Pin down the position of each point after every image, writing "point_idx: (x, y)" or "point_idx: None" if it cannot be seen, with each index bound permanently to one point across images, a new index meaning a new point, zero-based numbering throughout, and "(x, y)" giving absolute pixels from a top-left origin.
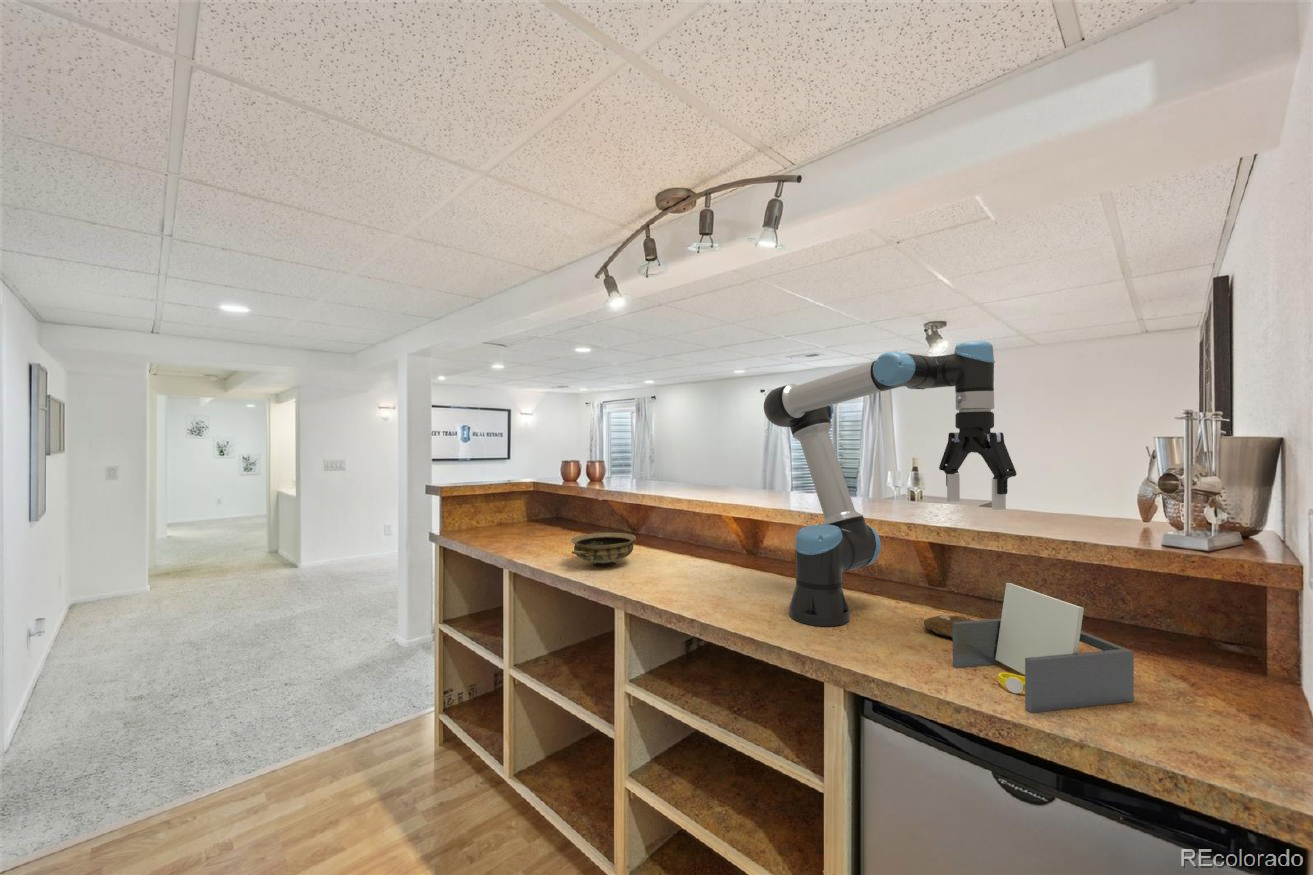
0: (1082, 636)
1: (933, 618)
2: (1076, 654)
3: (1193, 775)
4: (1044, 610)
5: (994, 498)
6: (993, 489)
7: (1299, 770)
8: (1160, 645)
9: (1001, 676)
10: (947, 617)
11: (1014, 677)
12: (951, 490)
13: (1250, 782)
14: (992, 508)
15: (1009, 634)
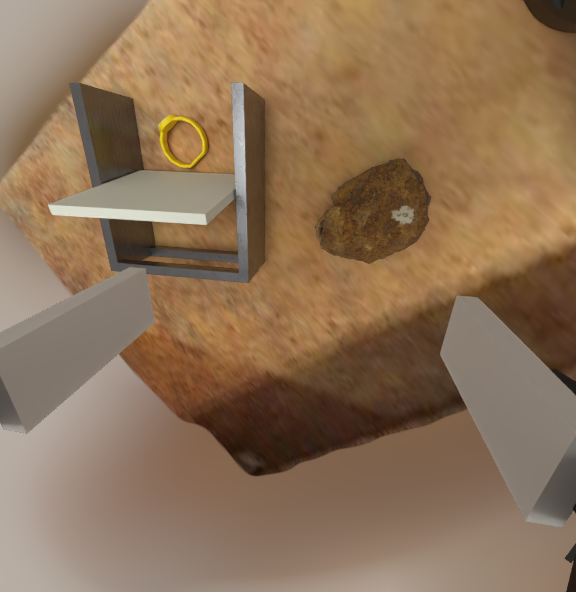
0: (171, 266)
1: (410, 190)
2: (97, 183)
3: (23, 160)
4: (127, 200)
5: (89, 287)
6: (50, 310)
7: (44, 260)
8: (267, 415)
9: (184, 119)
10: (399, 217)
11: (163, 123)
12: (481, 346)
13: (21, 200)
14: (140, 270)
15: (216, 185)
